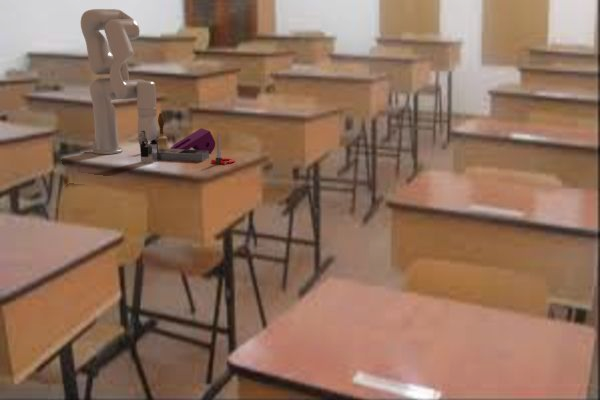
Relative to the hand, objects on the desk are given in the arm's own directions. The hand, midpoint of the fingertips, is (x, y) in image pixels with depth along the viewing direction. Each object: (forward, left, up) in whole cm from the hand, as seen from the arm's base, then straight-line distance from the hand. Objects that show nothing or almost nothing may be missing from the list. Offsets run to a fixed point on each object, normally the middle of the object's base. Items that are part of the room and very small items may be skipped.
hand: (149, 154), depth 304 cm
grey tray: (+10, +9, -3) cm, 14 cm away
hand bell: (-5, +27, -3) cm, 28 cm away
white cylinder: (0, 0, -3) cm, 3 cm away
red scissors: (+30, +6, -3) cm, 30 cm away
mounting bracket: (+9, +23, -3) cm, 25 cm away
